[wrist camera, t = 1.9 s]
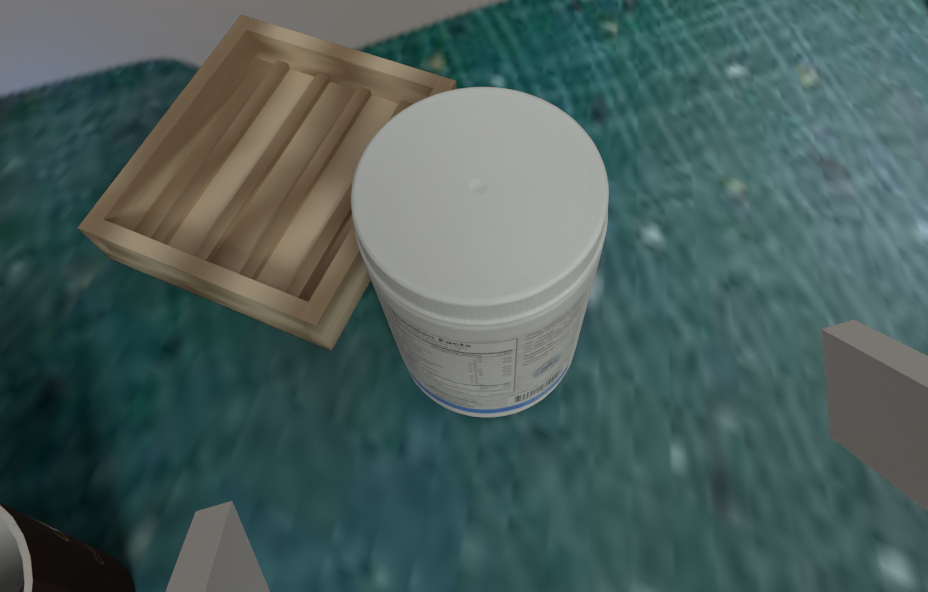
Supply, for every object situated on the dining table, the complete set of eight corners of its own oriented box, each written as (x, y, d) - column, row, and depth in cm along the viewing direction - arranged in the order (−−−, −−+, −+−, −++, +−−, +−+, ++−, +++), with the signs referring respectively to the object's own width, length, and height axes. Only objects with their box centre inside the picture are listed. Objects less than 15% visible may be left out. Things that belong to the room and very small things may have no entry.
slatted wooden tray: (109, 258, 42) (77, 227, 38) (258, 55, 48) (241, 14, 45) (331, 350, 38) (316, 325, 35) (459, 119, 45) (456, 80, 41)
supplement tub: (427, 244, 41) (391, 59, 28) (590, 277, 39) (634, 98, 26) (377, 402, 37) (306, 273, 24) (556, 445, 35) (587, 333, 22)
